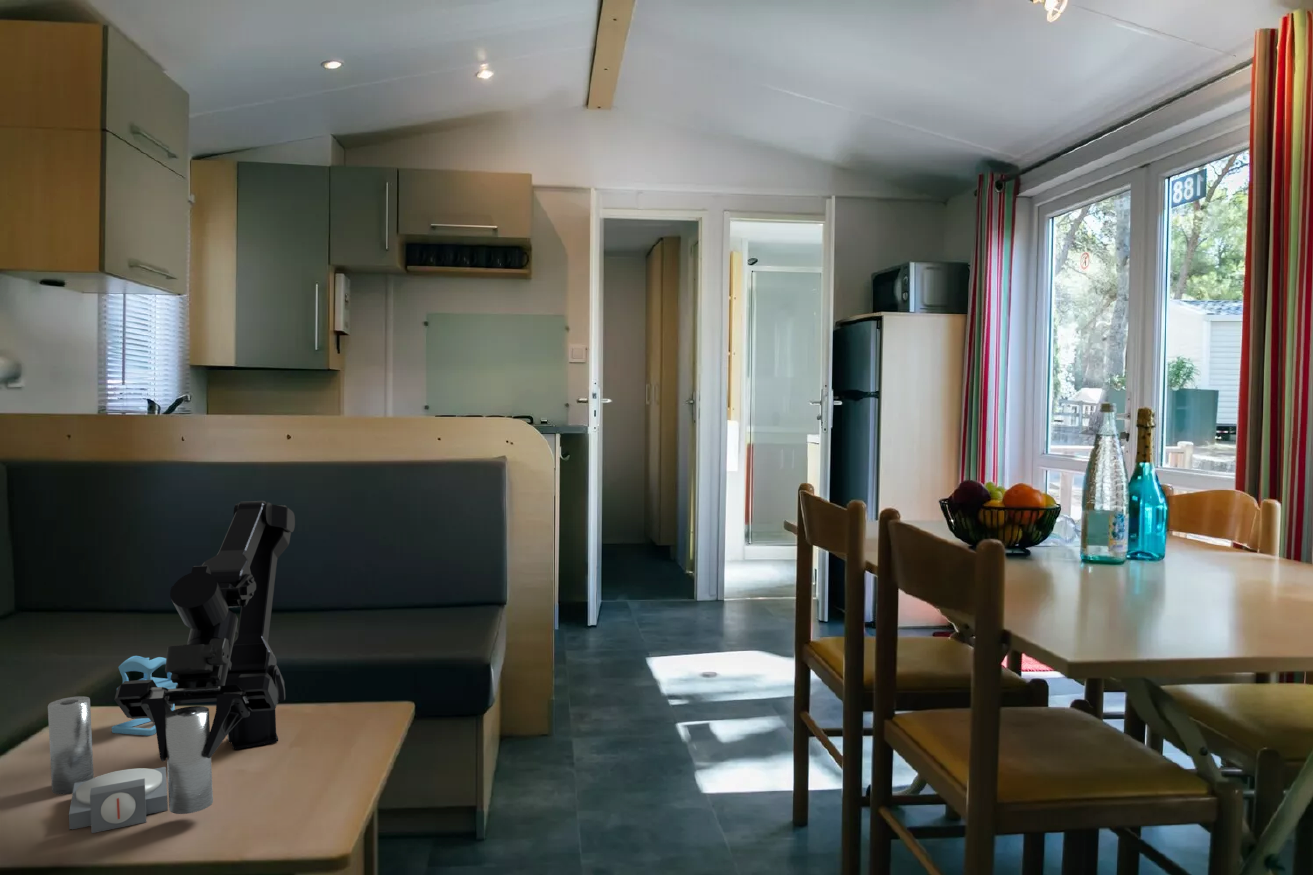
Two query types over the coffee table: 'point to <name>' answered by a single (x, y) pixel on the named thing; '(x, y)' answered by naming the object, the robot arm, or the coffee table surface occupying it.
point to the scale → (118, 799)
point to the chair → (147, 668)
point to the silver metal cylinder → (188, 759)
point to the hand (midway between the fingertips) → (185, 758)
